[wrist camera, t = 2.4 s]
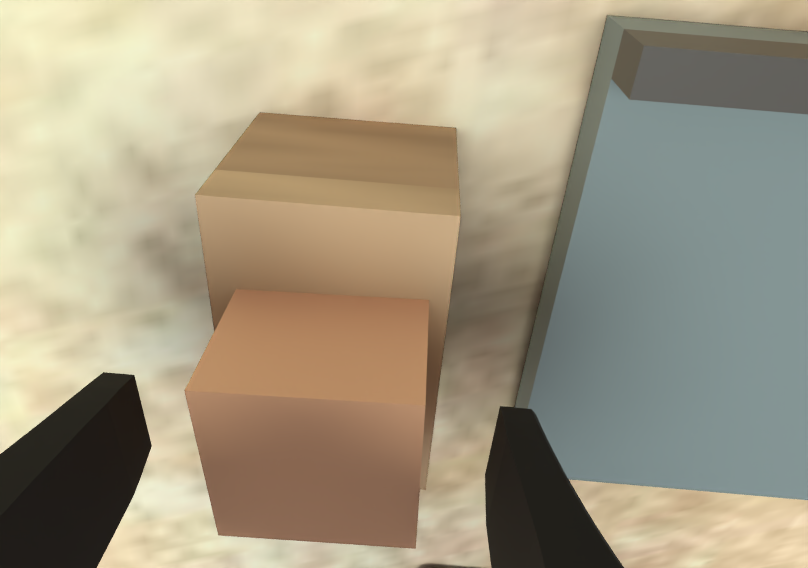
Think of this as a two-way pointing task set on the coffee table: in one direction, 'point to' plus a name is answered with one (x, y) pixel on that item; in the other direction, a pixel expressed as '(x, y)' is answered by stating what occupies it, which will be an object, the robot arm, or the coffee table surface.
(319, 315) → the carton
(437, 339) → the tan rectangular block
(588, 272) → the dock
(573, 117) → the coffee table surface
